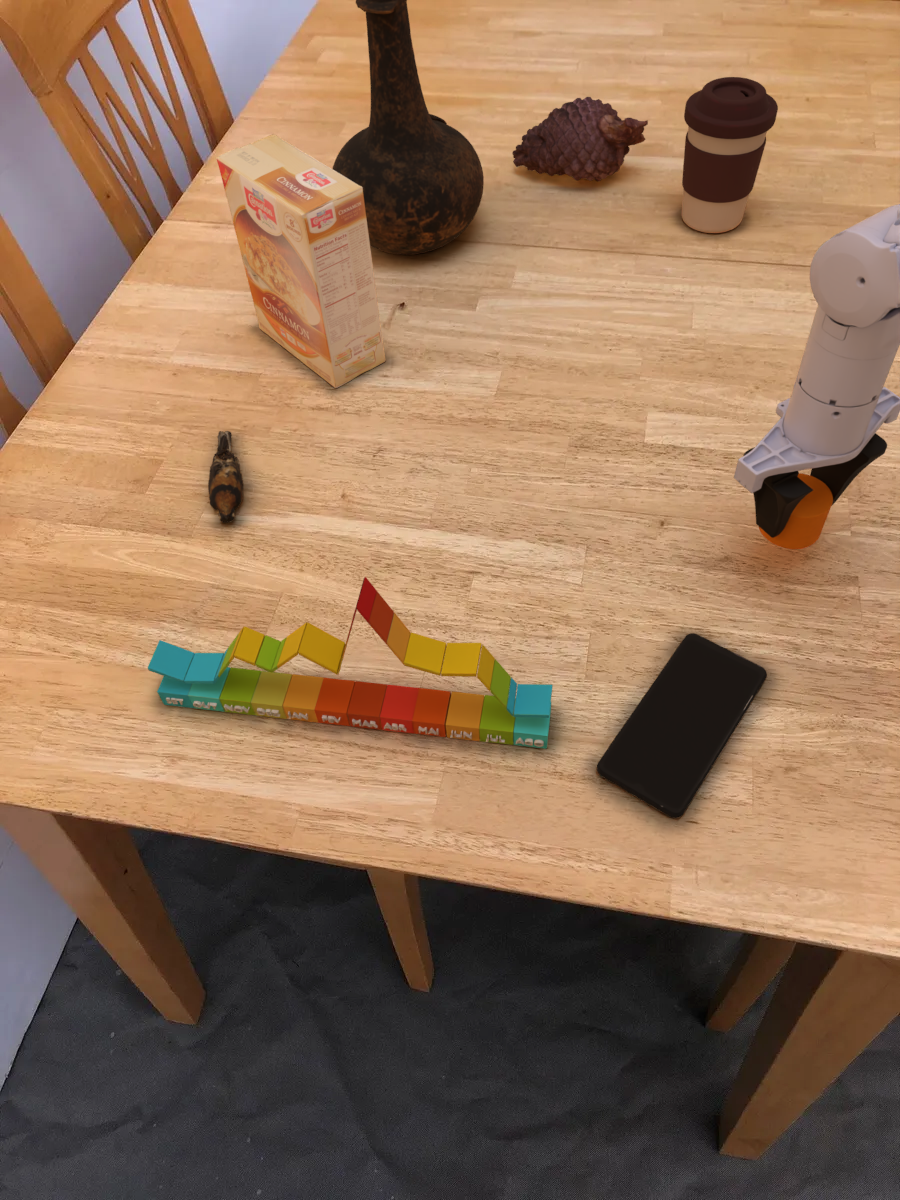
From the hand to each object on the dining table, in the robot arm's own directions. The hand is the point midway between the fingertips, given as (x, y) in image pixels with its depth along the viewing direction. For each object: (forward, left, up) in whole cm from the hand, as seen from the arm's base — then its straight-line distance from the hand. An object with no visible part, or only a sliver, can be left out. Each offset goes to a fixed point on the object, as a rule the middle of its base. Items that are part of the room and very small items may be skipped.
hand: (793, 514), depth 75 cm
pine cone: (+61, -29, -5) cm, 68 cm away
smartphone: (-7, +18, -5) cm, 20 cm away
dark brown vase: (+63, -4, -5) cm, 63 cm away
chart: (+9, +38, -5) cm, 39 cm away
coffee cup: (+42, -34, -5) cm, 54 cm away
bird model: (+38, +34, -5) cm, 51 cm away
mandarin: (0, 0, -1) cm, 1 cm away
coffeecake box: (+51, +16, -5) cm, 54 cm away
